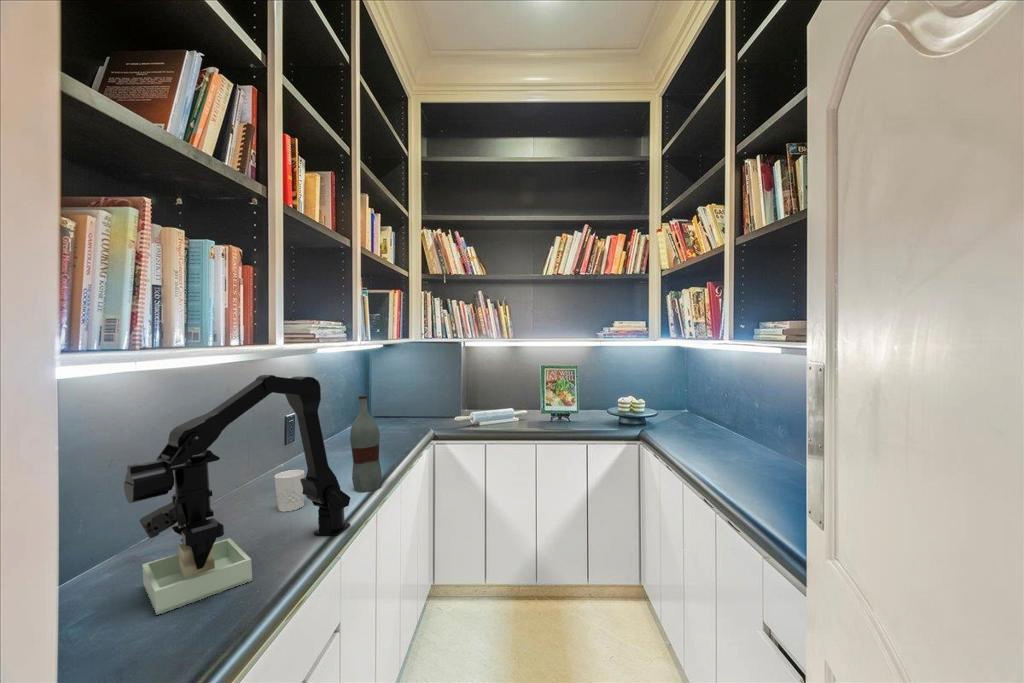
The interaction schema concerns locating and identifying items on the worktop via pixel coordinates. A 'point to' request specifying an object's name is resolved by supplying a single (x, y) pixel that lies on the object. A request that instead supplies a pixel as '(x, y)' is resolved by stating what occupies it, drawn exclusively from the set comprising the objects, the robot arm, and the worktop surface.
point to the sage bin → (195, 577)
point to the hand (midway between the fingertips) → (197, 564)
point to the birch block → (188, 561)
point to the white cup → (289, 490)
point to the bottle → (365, 450)
